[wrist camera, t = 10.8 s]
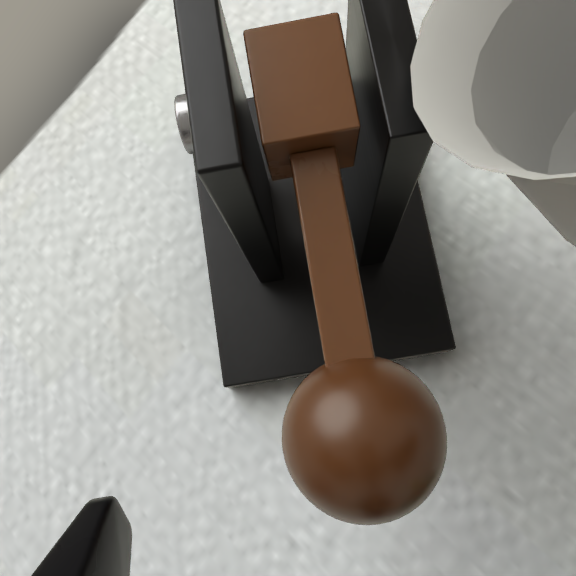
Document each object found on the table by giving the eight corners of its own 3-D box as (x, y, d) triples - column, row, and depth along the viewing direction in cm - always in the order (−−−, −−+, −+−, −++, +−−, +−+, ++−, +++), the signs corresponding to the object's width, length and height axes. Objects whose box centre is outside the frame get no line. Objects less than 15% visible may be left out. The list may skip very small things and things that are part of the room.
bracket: (449, 351, 21) (593, 295, 10) (228, 388, 22) (116, 375, 10) (389, 86, 24) (447, -206, 12) (193, 123, 24) (71, -128, 13)
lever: (441, 488, 13) (485, 534, 10) (299, 510, 13) (291, 563, 10) (359, 76, 15) (372, -14, 11) (233, 99, 15) (206, 18, 11)
